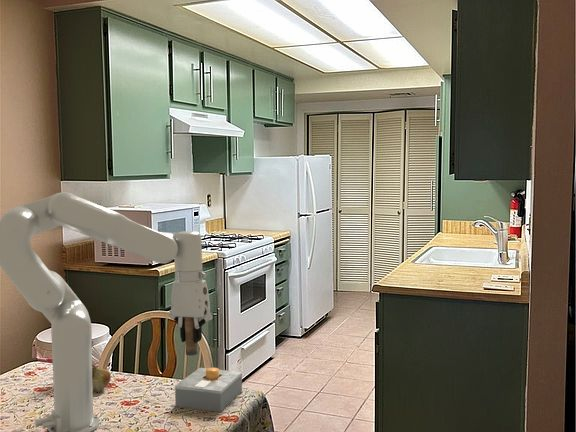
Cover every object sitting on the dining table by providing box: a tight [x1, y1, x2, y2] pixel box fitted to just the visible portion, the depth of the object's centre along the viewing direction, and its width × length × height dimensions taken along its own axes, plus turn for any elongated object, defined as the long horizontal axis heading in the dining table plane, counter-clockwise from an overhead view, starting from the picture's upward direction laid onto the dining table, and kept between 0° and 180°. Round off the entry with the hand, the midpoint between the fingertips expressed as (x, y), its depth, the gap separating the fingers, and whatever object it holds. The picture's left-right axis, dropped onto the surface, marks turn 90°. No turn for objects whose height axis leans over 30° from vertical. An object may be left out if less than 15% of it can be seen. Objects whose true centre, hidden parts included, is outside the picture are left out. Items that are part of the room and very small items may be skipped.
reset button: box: [206, 367, 220, 380], centre depth 174 cm, size 4×4×4 cm
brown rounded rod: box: [184, 317, 198, 356], centre depth 163 cm, size 3×3×12 cm
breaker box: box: [174, 367, 243, 413], centre depth 172 cm, size 16×14×6 cm
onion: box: [92, 364, 112, 393], centre depth 179 cm, size 8×8×8 cm
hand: (191, 340), depth 163 cm, fingers closed on brown rounded rod, 3 cm apart
